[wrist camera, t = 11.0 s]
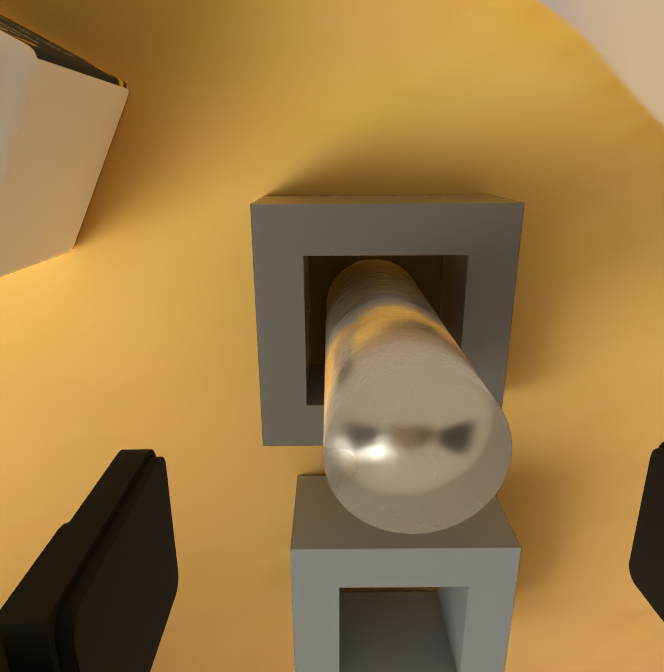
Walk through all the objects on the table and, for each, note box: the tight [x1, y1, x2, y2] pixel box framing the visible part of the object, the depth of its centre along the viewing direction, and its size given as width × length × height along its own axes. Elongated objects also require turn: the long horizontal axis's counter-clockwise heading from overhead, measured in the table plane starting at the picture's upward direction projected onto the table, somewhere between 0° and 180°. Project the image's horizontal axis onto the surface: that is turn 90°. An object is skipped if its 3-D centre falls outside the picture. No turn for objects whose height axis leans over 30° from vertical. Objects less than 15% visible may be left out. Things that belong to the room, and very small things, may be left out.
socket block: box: [290, 475, 521, 672], centre depth 24 cm, size 9×9×5 cm
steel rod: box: [323, 259, 512, 534], centre depth 17 cm, size 4×4×12 cm
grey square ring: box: [250, 195, 525, 446], centre depth 21 cm, size 9×9×4 cm
